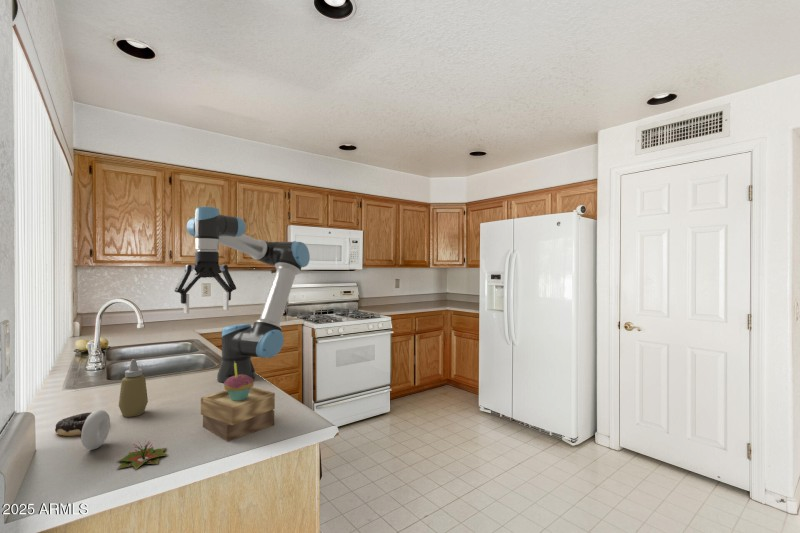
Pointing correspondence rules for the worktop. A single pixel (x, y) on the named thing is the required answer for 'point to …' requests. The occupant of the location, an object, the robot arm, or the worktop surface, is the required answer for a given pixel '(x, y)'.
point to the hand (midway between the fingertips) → (206, 311)
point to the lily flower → (142, 456)
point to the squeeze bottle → (133, 392)
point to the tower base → (238, 426)
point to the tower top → (237, 406)
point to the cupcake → (238, 386)
